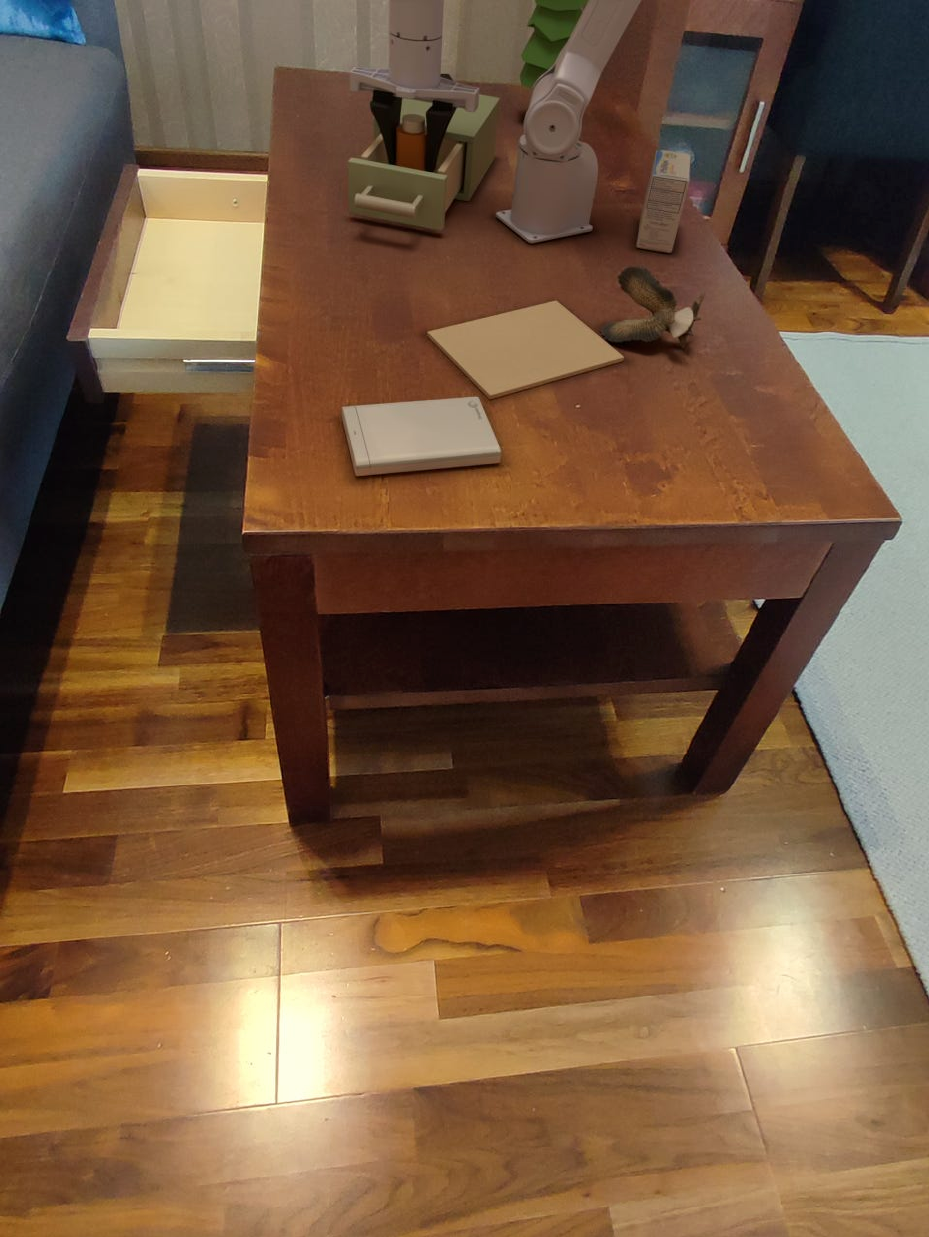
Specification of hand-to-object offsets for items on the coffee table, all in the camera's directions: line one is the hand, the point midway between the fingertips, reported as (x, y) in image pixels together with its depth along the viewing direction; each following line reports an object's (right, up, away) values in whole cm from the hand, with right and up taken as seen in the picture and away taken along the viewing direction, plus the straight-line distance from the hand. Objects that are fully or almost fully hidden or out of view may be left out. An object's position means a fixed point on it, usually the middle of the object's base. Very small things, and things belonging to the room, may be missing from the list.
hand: (412, 167), depth 99 cm
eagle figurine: (+25, -25, -12) cm, 37 cm away
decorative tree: (+18, +21, +27) cm, 39 cm away
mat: (+12, -27, -15) cm, 33 cm away
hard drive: (+2, -39, -26) cm, 47 cm away
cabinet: (+3, +6, +11) cm, 13 cm away
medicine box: (+30, -7, +4) cm, 31 cm away
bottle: (0, -1, +1) cm, 2 cm away
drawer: (-1, -4, +2) cm, 4 cm away
